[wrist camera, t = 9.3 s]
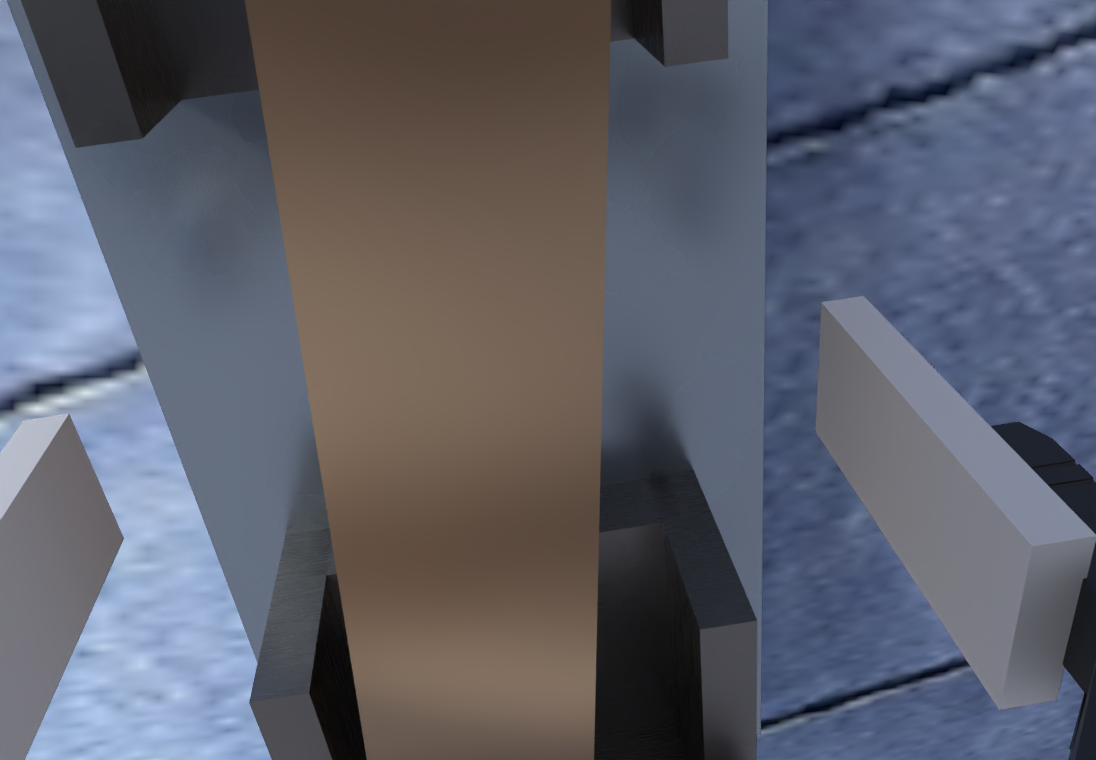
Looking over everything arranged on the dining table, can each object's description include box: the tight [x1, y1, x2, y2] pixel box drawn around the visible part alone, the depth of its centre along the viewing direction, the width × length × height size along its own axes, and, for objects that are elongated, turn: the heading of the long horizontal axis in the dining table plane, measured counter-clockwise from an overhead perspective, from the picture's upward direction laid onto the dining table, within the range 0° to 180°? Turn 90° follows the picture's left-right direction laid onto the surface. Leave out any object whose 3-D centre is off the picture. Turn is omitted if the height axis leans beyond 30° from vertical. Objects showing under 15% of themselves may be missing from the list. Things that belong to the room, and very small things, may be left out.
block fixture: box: [7, 0, 768, 760], centre depth 17 cm, size 32×14×10 cm, turn 6°
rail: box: [245, 0, 611, 760], centre depth 17 cm, size 18×4×6 cm, turn 1°
